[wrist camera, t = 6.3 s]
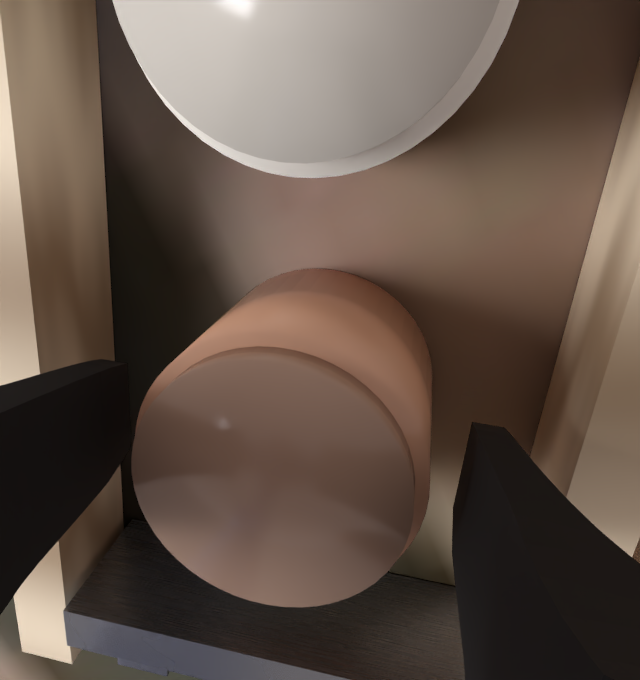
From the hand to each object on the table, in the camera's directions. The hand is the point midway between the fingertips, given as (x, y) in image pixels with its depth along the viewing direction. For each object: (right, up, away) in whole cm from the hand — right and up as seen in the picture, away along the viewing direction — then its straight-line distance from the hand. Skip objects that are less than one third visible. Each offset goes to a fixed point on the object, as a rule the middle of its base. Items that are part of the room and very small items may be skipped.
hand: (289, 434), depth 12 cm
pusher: (0, -6, +6) cm, 8 cm away
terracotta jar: (+1, +1, +3) cm, 3 cm away
